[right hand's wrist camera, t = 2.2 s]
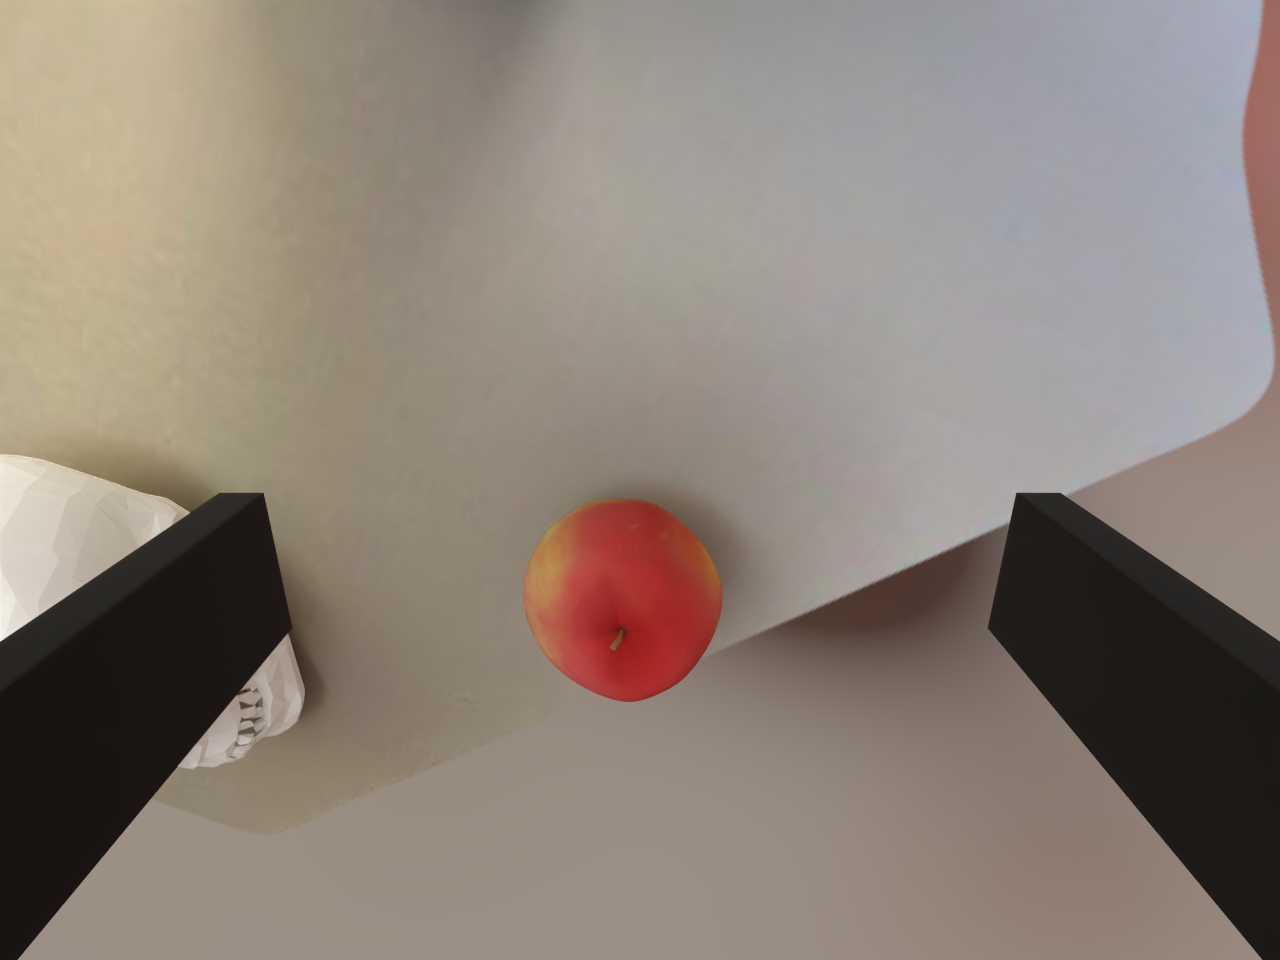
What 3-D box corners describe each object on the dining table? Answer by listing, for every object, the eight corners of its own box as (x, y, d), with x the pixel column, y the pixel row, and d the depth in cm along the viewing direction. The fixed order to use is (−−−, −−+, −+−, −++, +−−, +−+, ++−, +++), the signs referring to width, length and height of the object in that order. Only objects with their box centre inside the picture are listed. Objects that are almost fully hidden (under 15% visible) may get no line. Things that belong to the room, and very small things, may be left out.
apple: (672, 444, 38) (683, 515, 28) (731, 587, 41) (760, 695, 31) (512, 506, 39) (473, 595, 30) (581, 642, 42) (565, 761, 33)
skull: (246, 760, 45) (59, 1019, 30) (-68, 525, 39) (-493, 698, 24) (387, 638, 42) (260, 853, 27) (73, 368, 37) (-304, 453, 22)
